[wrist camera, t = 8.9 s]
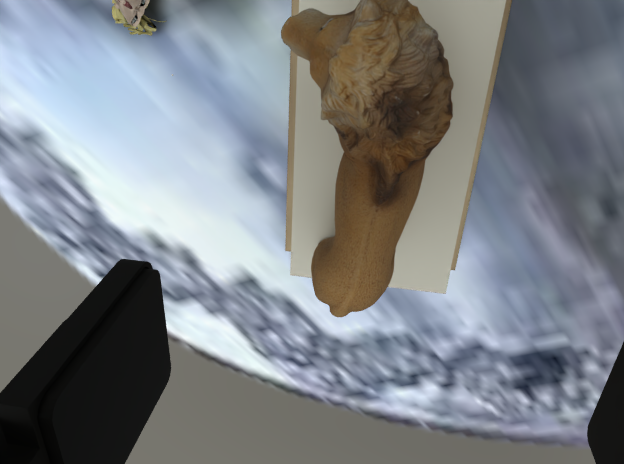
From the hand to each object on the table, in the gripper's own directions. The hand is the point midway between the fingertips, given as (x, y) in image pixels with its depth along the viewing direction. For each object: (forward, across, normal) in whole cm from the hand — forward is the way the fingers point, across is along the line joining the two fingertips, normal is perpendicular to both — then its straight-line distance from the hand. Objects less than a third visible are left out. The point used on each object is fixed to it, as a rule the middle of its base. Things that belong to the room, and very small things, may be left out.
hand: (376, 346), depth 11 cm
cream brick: (+18, 0, +1) cm, 18 cm away
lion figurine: (+14, +1, +1) cm, 15 cm away
